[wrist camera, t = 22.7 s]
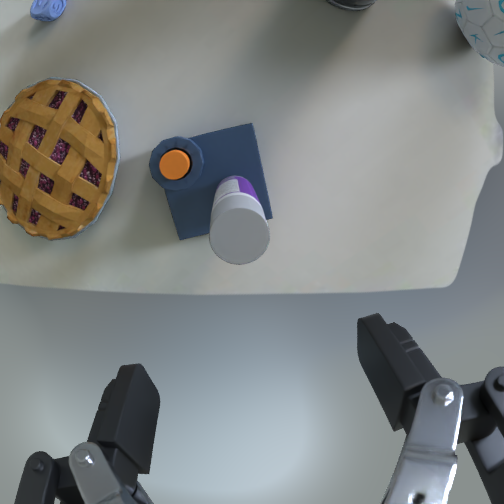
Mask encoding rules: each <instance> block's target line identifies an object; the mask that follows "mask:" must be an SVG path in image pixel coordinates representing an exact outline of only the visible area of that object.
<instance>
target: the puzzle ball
mask: <svg viewBox="0 0 504 504" xmlns="http://www.w3.org/2000/svg"><path fill="white" fill-rule="evenodd" d="M455 12H456V13H455V14H456V20H457V23H458V25H459V27H460V29H461V31H462V33H463V34H464V36H465V37H466V39H467V41H468V42H469V44H470V45H471V46H472V47H473V49H475V50H476V52H477V53H479V54H480V55H481V56H482V57H483V58H486V59H487V60H489V61H490V62H492V63H495V64H497V65H500V66H504V0H456V2H455Z"/></svg>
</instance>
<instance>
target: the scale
mask: <svg viewBox="0 0 504 504" xmlns="http://www.w3.org/2000/svg"><path fill="white" fill-rule="evenodd" d="M173 150H180V151H183V152H184V153H186V154H187V156H188V157H189V160H190V167H189V170H188V171H187V173H186V174H185V175H184V176H183V177H181V178H179V179H176V180H171V179H168V178H166V177H165V176H163V174H162V173H161V171H160V167H159V164H160V160H161V158H162V157H163V155H164V154H166V153H167V152H170V151H173ZM149 167H150V171H151V174H152V178H153V179H154V180H155V181H156V182H157V183H158V184H159V185H160V186H161V187H163V188H164V189H165V193H166V196H167V200H168V203H169V207H170V210H171V213H172V217H173V220H174V223H175V226H176V230H177V233H178V236H179V239H180V240H183V239H187V238H191V237H195V236H199V235H204V234H208V233H210V222H211V212H212V207H213V202H214V197H215V192H216V189H217V186H218V185H219V183H220V182H221V181H222V180H223V179H225V178H227V177H230V176H241V177H243V178H245V179H247V180H248V181H249V182H250V183H251V185H252V186H253V188H254V191H255V193H256V195H257V197H258V200H259V202H260V204H261V206H262V209H263V212H264V215H265V218H266V220H268V219H272V218H273V217H272V212H271V207H270V202H269V197H268V192H267V188H266V183H265V178H264V173H263V169H262V164H261V159H260V155H259V150H258V146H257V141H256V137H255V132H254V128H253V124H252V123H250V124H245V125H240V126H236V127H231V128H227V129H223V130H219V131H214V132H210V133H206V134H202V135H199V136H195V137H191V138H184V137H179V136H177V137H173V138H169V139H166V140H163V141H161V142H160V144H159V145H158V146H157V147H156V148H154V150H153V151H152V154H151V158H150V162H149Z"/></svg>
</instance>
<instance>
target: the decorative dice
mask: <svg viewBox="0 0 504 504" xmlns="http://www.w3.org/2000/svg"><path fill="white" fill-rule="evenodd" d="M65 6H66V0H34V2H33V3H32V6H31V10H30V13H31V17H32V18H34V19H37V20H41V21H53V20H55V19H56V18H58V17H59V16H60V15H61V14H62V12H63V11H64V9H65Z"/></svg>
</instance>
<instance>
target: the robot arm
mask: <svg viewBox="0 0 504 504" xmlns="http://www.w3.org/2000/svg"><path fill="white" fill-rule="evenodd" d="M326 1H327V2H329V3H330V4H332V5H334V6H336V7H339V8H341V9H345V10H350V11H360V10H364V9H366V8H368V7H369V6H371V5H372V4H373V3H374V2H375V1H376V0H326ZM357 335H358V336H357V337H358V338H357V350H358V356H359V361H360V363H361V366H362V368H363V369H364V372H365V374H366V375H367V378H368V379H369V382H370V383H371V386H372V388H373V389H374V392H375V393H376V395H377V398H378V399H379V402H380V404H381V406H382V408H383V410H384V412H385V414H386V416H387V418H388V420H389V422H390V424H391V427H392V429H393V431H397V430H399V429H402V428H404V430H405V432H406V434H407V435H406V438H405V441H404V445H403V447H402V450H401V453H400V456H399V459H398V462H397V465H396V468H395V470H394V473H393V475H392V478H391V480H390V483H389V485H388V487H387V489H386V492H385V494H384V496H383V498H382V500H381V503H380V504H446V503H447V499H448V496H449V493H450V489H451V486H452V482H453V478H454V474H455V470H456V465H457V455H455V447H456V444H459V443H463V442H464V443H465V445H466V447H467V449H468V451H469V453H470V455H471V457H472V459H473V461H474V463H475V466H476V468H477V470H478V472H479V475H480V477H481V479H482V481H483V484H484V486H485V489H486V491H487V493H488V496H489V498H490V500H491V503H492V504H504V367H497V368H494V369H492V370H491V371H490V372H489V373H488V374H487V376H486V378H485V380H484V381H481V382H476V383H471V384H466V385H458V383H457V382H455V381H454V380H451V379H448V378H442V377H441V376H440V375H439V373H438V372H437V371H436V369H435V368H434V366H433V365H432V364H431V362H430V361H429V360H428V358H427V357H426V355H425V354H424V353H423V351H422V350H421V349H420V348H419V347H418V345H417V343H416V342H415V341H414V340H413V339H412V337H411V335H410V334H409V333H408V332H407V330H406V329H405V328H403V327H401V326H400V325H398V324H396V323H395V322H393V323H390V324H386V322H385V321H384V320H383V318H382V317H381V315H380V314H379V313H376V314H373V315H370V316H366V317H363V318H359V319H358V322H357ZM159 408H160V396H159V393H158V390H157V389H156V387H155V385H154V384H153V382H152V380H151V379H150V377H149V376H148V374H147V372H146V371H145V369H144V367H143V366H142V365H141V364H131V365H123V366H121V367H120V369H119V371H118V374H117V377H116V379H112V381H111V382H110V383H109V384H108V386H107V387H106V388H105V390H104V393H103V395H102V399H101V402H100V404H99V407H98V411H97V413H96V416H95V419H94V422H93V425H92V428H91V431H90V434H89V437H88V440H87V442H83V443H81V444H79V445H77V446H76V447H75V448H74V449H73V450H72V451H71V454H70V456H67V457H63V458H58V459H52V457H51V456H49V455H48V454H47V453H45V452H43V451H39V452H35V453H34V454H32V455H31V456H30V457H29V458H28V460H27V462H26V464H25V467H24V471H23V474H22V478H21V481H20V484H19V488H18V492H17V495H16V499H15V503H14V504H54V500H55V497H56V498H57V499H59V500H60V501H61V502H60V504H154V503H153V502H152V500H151V499H150V498H149V496H148V495H147V493H146V492H145V490H144V489H143V487H142V486H141V484H140V483H139V482H138V481H137V476H138V474H149V471H150V464H151V458H152V451H153V444H154V438H155V431H156V425H157V419H158V413H159Z"/></svg>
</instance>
